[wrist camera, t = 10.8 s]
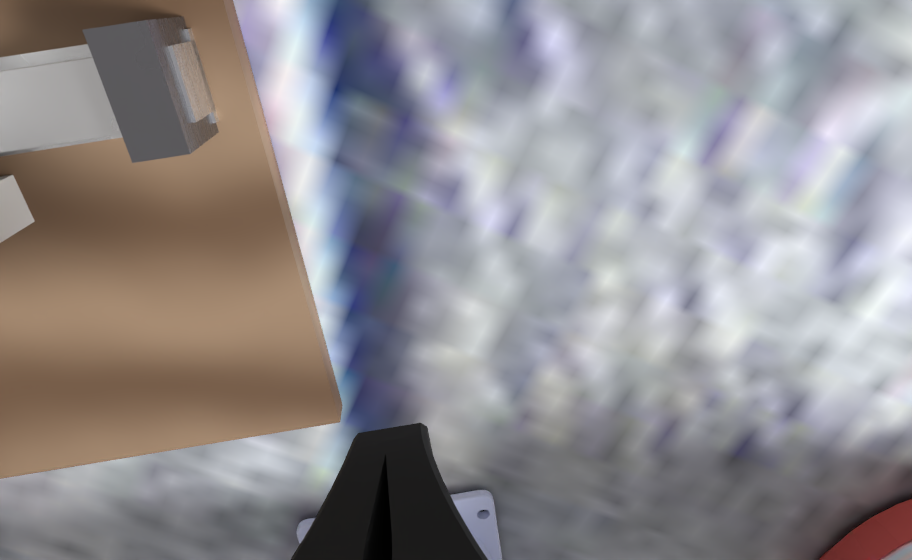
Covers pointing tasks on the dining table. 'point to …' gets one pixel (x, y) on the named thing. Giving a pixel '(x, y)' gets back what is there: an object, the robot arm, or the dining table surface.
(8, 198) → the block
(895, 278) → the dining table surface
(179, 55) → the rail
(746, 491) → the dining table surface
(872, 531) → the citrus juicer
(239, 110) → the board
